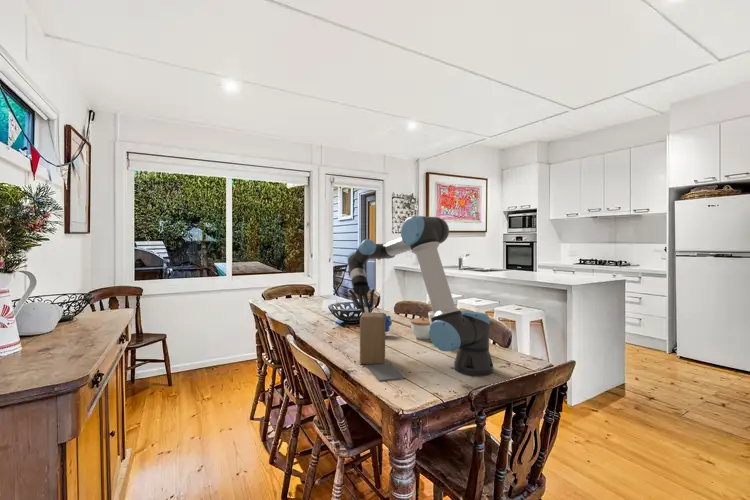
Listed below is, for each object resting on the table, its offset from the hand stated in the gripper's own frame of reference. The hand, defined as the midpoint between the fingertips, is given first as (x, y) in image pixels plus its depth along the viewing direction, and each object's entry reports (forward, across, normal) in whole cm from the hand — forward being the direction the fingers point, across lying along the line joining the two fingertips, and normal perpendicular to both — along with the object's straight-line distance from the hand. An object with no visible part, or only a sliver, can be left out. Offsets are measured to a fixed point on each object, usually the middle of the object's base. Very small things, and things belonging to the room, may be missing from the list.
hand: (367, 320), depth 165 cm
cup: (+7, -39, -15) cm, 42 cm away
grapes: (-11, -16, -33) cm, 39 cm away
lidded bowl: (-4, -36, -26) cm, 45 cm away
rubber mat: (+27, -1, +5) cm, 27 cm away
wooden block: (+17, 0, -5) cm, 18 cm away
